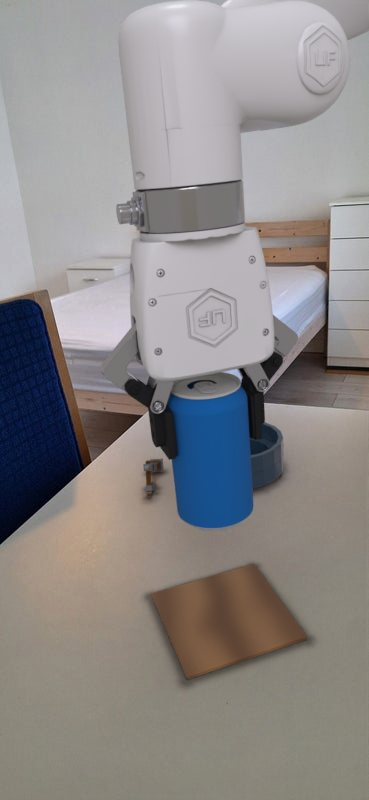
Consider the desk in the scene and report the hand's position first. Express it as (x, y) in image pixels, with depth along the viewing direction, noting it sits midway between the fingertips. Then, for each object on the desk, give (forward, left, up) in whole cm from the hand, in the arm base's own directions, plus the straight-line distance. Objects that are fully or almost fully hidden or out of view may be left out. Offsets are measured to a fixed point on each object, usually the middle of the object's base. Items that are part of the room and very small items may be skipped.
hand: (209, 440), depth 48 cm
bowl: (-12, -25, -18) cm, 33 cm away
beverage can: (0, 0, -7) cm, 7 cm away
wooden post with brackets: (-1, -27, -18) cm, 33 cm away
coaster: (0, 0, -18) cm, 18 cm away
